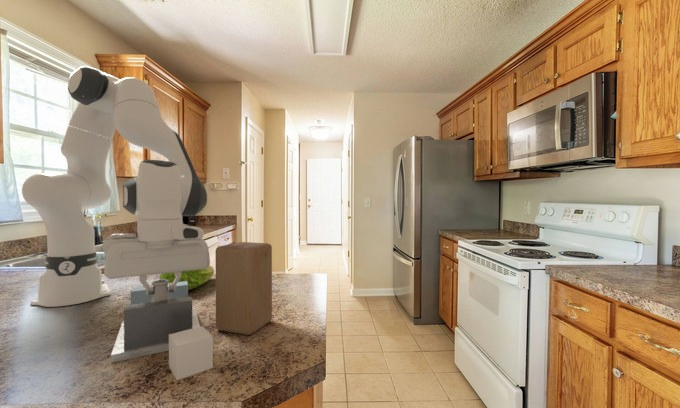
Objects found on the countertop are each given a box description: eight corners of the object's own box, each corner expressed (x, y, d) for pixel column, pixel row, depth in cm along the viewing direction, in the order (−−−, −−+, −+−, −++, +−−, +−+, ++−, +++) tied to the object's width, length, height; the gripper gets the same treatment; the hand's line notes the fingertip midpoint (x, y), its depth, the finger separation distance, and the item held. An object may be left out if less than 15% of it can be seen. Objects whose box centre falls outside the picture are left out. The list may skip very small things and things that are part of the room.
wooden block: (273, 320, 78) (273, 242, 78) (249, 337, 69) (249, 248, 69) (240, 316, 82) (240, 241, 81) (214, 331, 72) (213, 246, 72)
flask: (185, 320, 72) (185, 277, 72) (163, 333, 65) (163, 286, 65) (158, 318, 73) (157, 276, 73) (133, 331, 66) (133, 284, 66)
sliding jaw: (132, 319, 75) (132, 287, 75) (187, 310, 81) (186, 281, 81) (130, 324, 72) (130, 291, 71) (188, 315, 78) (187, 284, 77)
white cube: (202, 356, 61) (202, 325, 61) (212, 368, 56) (212, 335, 56) (168, 366, 57) (168, 334, 57) (176, 380, 52) (176, 345, 52)
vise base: (122, 327, 74) (122, 288, 74) (195, 314, 82) (195, 279, 82) (110, 362, 58) (110, 313, 58) (202, 343, 66) (202, 299, 66)
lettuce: (230, 265, 122) (206, 246, 123) (196, 277, 97) (166, 253, 99) (212, 289, 122) (188, 270, 123) (174, 307, 97) (145, 283, 99)
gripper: (100, 235, 61) (101, 305, 61) (210, 230, 71) (211, 289, 71) (105, 233, 66) (106, 296, 67) (207, 228, 77) (207, 283, 77)
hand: (161, 292), depth 69 cm, fingers closed on flask, 3 cm apart
